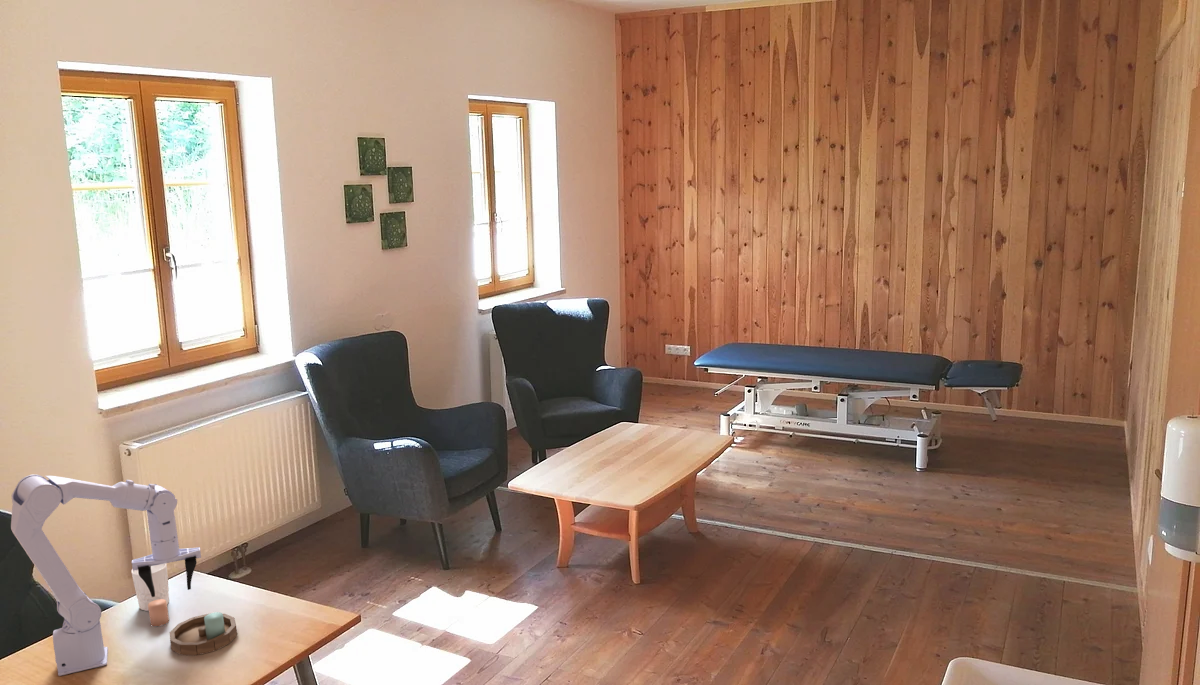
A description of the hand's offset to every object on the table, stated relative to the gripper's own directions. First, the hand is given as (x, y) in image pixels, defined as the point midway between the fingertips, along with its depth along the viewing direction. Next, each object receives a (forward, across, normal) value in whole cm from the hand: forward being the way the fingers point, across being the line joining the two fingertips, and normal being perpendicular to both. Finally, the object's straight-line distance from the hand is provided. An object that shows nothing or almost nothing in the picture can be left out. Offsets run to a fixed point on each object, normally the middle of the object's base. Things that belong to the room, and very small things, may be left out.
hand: (171, 591), depth 224 cm
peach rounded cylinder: (+9, +4, -5) cm, 11 cm away
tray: (+9, -6, +8) cm, 14 cm away
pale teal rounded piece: (+8, -8, +11) cm, 16 cm away
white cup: (+10, +5, -15) cm, 19 cm away
